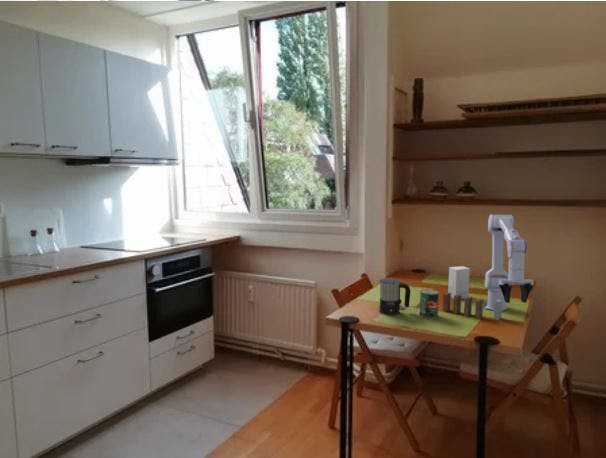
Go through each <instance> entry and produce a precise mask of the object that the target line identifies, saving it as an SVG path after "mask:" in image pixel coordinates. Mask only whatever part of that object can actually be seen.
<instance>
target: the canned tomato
mask: <svg viewBox="0 0 606 458" xmlns="http://www.w3.org/2000/svg"><path fill="white" fill-rule="evenodd" d="M439 294H440V291H438V290H435V289H427V288H426V289H421V290H420V291H419V313H418V314H419V317H421V318H425V319H436V318H439V317H438V316H439V315H438V314H439Z"/></svg>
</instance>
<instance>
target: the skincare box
mask: <svg viewBox="0 0 606 458" xmlns="http://www.w3.org/2000/svg"><path fill="white" fill-rule="evenodd" d="M470 272H471V268H469V267H467V266H462V265H461V266H451V267H450V266H448V287H447V289H448V290H447V292H448V293H451V299H453V300H454V296H455V295H461V300H463V299H464V300H465V298H466V297H470V295H469V294H470V293H469V291H470V289H469V288H470V274H471V273H470Z"/></svg>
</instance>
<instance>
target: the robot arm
mask: <svg viewBox="0 0 606 458" xmlns="http://www.w3.org/2000/svg"><path fill="white" fill-rule="evenodd" d="M514 225H515V218H514V216H513V214H490V215H489V216H488V220H487V231H488V233H490V234H491V237H492V239H491V240H492V241H491V244H492V245H491V247H492V248H491V250H492V251H491V253H492V255H491V268H490V269H489V270H488V271H486V272H485V275H484V276H485V277H484V287H485V288H486V289H487V304H486V306H483V309H487V310H489V311H490V310H492V311H495V301H497V300H502V312H503V311H504V310H507V309H508V308H509V306H508V305H507V304H510V301H511V292H512V289H513V286H514V285H519V288H520V301H521V303H527V301H528V298H529V295H530V293H531V292H532V289H534V279H526V278H525V255H526V253H527V251H528V241H527V239H525V238H522V237H521V236H520V233H519V232H518V231H517V229H515V228H514ZM504 240H505V242H506V250H507V258H508V272H507V271H506V270H505V269H504ZM511 285H513V286H511Z"/></svg>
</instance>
